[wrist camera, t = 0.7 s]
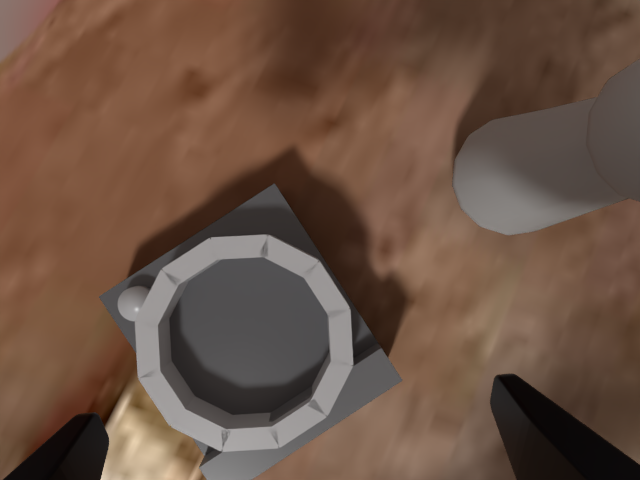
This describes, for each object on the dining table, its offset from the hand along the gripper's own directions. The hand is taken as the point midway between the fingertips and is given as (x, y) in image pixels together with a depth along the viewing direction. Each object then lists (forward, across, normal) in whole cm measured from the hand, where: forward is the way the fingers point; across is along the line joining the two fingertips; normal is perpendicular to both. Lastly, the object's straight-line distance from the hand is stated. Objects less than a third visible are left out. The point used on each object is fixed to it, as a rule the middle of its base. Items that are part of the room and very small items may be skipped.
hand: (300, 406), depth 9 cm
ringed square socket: (+11, +3, +6) cm, 13 cm away
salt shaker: (+15, -11, +1) cm, 18 cm away
